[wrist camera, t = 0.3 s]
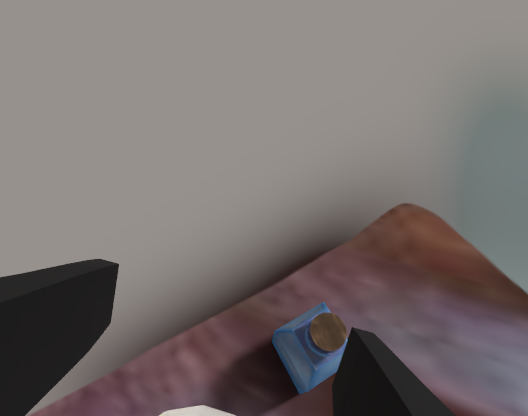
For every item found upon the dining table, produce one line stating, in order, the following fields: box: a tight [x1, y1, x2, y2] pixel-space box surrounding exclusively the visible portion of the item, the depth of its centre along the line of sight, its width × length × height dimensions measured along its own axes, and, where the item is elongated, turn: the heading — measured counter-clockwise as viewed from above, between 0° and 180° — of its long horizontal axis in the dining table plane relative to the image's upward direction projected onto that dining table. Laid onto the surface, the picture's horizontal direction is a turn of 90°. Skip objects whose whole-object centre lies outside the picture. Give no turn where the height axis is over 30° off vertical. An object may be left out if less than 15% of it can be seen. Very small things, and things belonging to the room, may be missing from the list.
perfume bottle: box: [272, 302, 348, 394], centre depth 32 cm, size 6×6×12 cm
